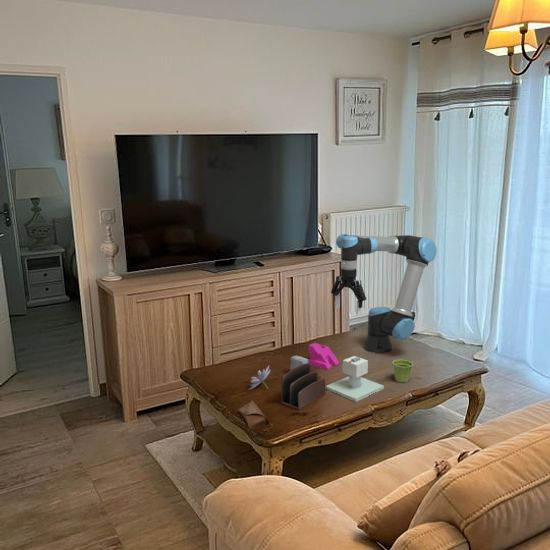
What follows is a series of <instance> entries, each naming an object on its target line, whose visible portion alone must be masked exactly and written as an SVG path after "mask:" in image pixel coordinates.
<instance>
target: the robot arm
mask: <svg viewBox="0 0 550 550" xmlns="http://www.w3.org/2000/svg"><path fill="white" fill-rule="evenodd" d="M335 245H336V246H337V248H339V249H340V250H341V253H340V254H341V255H340V258H341V260H340V267H341V268H340V275H337V276H336V277H335V281H334V284H333V286H332V288H331V290H330V294H333V300H334V301H333V302H334V309H335V310H336V309H337V310H338V309H340V308H341V306H340V304H341V302H340V301H341V295H340V293H341V291H342V290H343V289H344V288H348V289H350V290H351V292H353V295H354V296H355V298H356V308H355V309H356V310H355V311H356V312H355V313H356V315H357V316H359V315H361V314H362V308H363V302H365V301H366V300H367V296H366V295H365V291H364V288H363V285H362V280H361V279H359V280H357V279H356V278H357V272H358V271H357V268H358V256H361V255H362V256H363V255H368V254H369V255H370V254H372V253H375V252H388V253H389V254H391V255H392V254H394V255H399V256H402V257H406V258H405V261H406V263H407V265H406V268H405V272H404V275H403V278H402V282H401V285H400V288H399V292H398V295H397V298H396V302H395V306H394V307H393V308H390V307H387V306H379V307H378V306H377V307H372V308H369V310H368V316H367V320H368V321H367V336H366V338H365V341H364V344H363V345H364V346H363V349H364V348H365V349H364V350H366V351H367V352H370V353H373V352H375V353H374V354H386V352H387V353H390V352H392V351H393V344H392V341H391V337H392V338H394V339H399V340H406V339H408V338H409V337H411V335H412V334H413V332H414V330H415V321H414V320H413V317H414V315H413V314H412V309H413V306H414V304H415V303H414V302H415V299H416V296H417V292H418V288H419V287H420V282H421V279H422V275H423V272H424V269H425V268H426V267H428V266H429V263H431V262H433V261H434V260H435V259H436V256H437V251H438V250H437V245H436V243H435V241H434V240H432V239H431V238H428V237H424V236H423V237H422V236H416V235H410V234H408V235H403V234H401V235H389V236H372V235H371V236H370V235H351V234H350V235H349V234H347V233H345V234H344V233H340V235H338V236H337V238H336V241H335ZM391 350H392V351H391Z"/></svg>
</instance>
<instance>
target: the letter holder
mask: <svg viewBox="0 0 550 550" xmlns="http://www.w3.org/2000/svg"><path fill="white" fill-rule="evenodd" d="M318 373H319V372H318V371H312V372H311V365H310V364H309V362H308V363H306V364H303V365H300V366H298V367H296V368H294V369H292V370H291V369H290V370H288V371H286V372H285V373H284V374H283V375H281V384H280V385H281V389H280V390H281V392H280V393H281V395H280V397H281V399H280V400H281V401H280V404H282V405H284V404H285V406H287V407H289V406H290V408H292V407H293V409H294V410H298V411H299V410H301V409H303V408H305V407H307V406H308V405H310V404H312V403H313V402H315V401H317V400H319V399H320V398H322V397H324V396H325V395H326V394H327V392H326V391H327V390H326V386H327V385H326V382H327V381H326V379H325V378H321V379H318V375H319V374H318ZM304 406H305V407H304ZM302 407H303V408H302Z"/></svg>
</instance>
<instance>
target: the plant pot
mask: <svg viewBox="0 0 550 550" xmlns="http://www.w3.org/2000/svg"><path fill="white" fill-rule="evenodd" d="M392 365H393V368H394V381H396V382H397V383H407V382H409V379H410V374H411V370H412V368H413V366H414V364H413V362H412V361H409V360H405V359H395V360H393V361H392Z"/></svg>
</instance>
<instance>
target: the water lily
mask: <svg viewBox="0 0 550 550" xmlns="http://www.w3.org/2000/svg"><path fill="white" fill-rule="evenodd" d="M270 373H271V369H270V365H268V366H267V367H266V369H263V370H258V371H257V376H252V377H250V378H251V379H250V383H251V384H249V387H250V388H249V389H248V391H250V390H252V389H254V388H256V387H258V386H259V384H261V383H262V384H263V385H264V386H265V388H266V389H267V390H269V387H268V385H267V384H266V383H265V382H264V381H265V379H266V378H268V376H269V375H270Z"/></svg>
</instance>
